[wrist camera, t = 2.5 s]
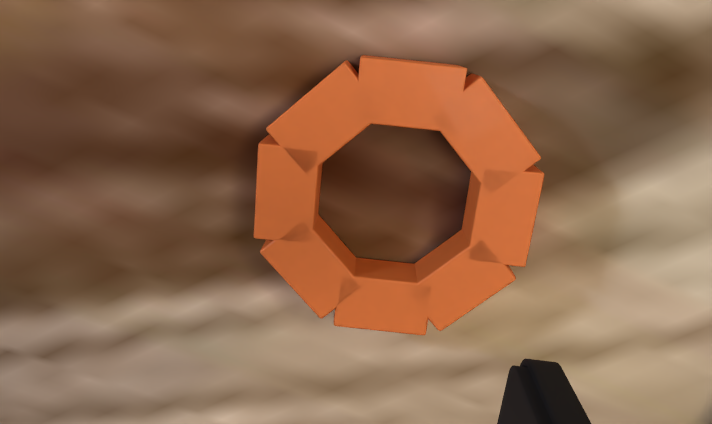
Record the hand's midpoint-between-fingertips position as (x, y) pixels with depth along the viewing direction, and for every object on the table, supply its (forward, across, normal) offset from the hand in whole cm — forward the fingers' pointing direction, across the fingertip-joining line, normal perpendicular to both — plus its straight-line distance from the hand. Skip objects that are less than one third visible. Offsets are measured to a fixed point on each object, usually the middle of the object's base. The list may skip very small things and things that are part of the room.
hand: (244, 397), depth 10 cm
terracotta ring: (+13, -3, 0) cm, 13 cm away
